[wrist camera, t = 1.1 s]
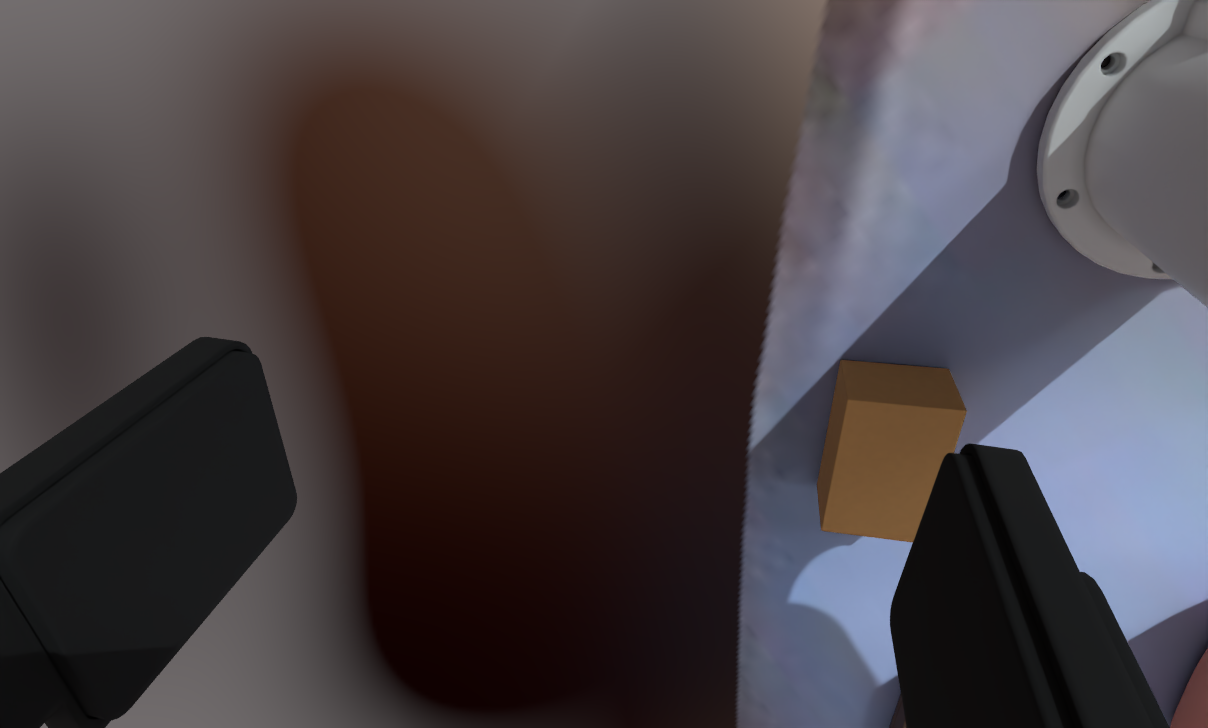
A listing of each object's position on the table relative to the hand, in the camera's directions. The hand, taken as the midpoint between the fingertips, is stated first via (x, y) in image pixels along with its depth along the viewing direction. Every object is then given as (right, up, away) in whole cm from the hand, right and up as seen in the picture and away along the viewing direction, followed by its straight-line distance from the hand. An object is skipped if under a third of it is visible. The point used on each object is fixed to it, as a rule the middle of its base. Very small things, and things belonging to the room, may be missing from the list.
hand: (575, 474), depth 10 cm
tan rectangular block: (+16, -2, +30) cm, 35 cm away
